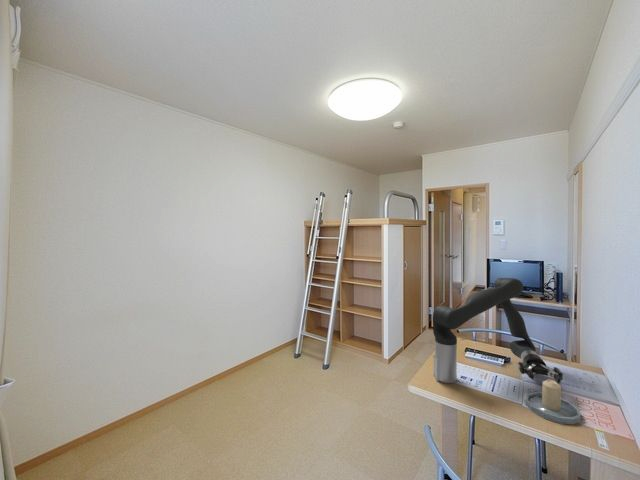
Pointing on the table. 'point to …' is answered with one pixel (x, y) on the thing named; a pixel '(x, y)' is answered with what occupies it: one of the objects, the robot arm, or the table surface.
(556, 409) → the candle
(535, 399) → the dish
